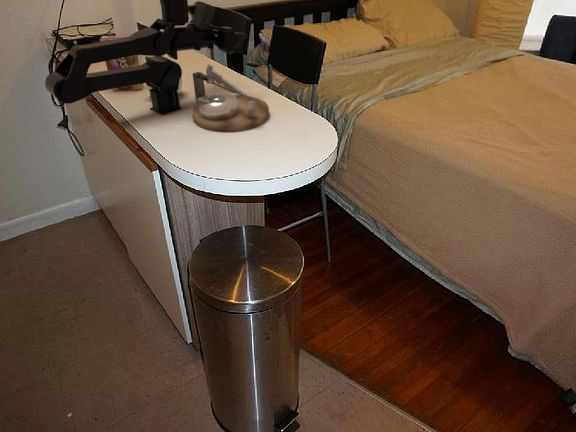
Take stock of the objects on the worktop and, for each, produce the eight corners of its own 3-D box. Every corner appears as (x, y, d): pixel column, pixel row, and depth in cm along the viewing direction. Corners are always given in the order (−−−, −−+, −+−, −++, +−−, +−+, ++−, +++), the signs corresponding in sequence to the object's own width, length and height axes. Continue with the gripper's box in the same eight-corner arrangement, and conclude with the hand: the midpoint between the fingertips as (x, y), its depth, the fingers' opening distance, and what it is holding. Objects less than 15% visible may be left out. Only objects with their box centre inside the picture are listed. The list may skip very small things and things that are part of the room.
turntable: (226, 139, 104) (224, 115, 101) (177, 116, 116) (174, 94, 112) (284, 115, 116) (284, 93, 113) (235, 97, 127) (233, 76, 124)
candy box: (144, 85, 137) (134, 34, 129) (141, 90, 134) (131, 38, 125) (115, 86, 137) (102, 35, 128) (111, 91, 133) (99, 38, 124)
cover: (215, 124, 107) (213, 108, 104) (191, 113, 112) (189, 97, 110) (246, 112, 113) (245, 97, 110) (221, 102, 118) (220, 88, 116)
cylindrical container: (142, 75, 146) (126, -8, 131) (121, 75, 146) (102, -8, 131) (148, 69, 151) (133, -12, 137) (128, 68, 151) (110, -12, 137)
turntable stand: (226, 142, 104) (222, 106, 99) (168, 114, 118) (162, 81, 113) (287, 117, 116) (286, 83, 111) (227, 94, 130) (225, 64, 125)
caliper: (207, 83, 139) (204, 63, 136) (209, 83, 140) (207, 63, 136) (247, 100, 127) (245, 79, 124) (250, 99, 128) (248, 78, 124)
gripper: (206, 9, 106) (257, 6, 115) (168, 0, 117) (217, -2, 126) (208, 57, 112) (256, 50, 121) (172, 44, 123) (218, 39, 132)
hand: (236, 33), depth 125 cm, fingers open, 9 cm apart
